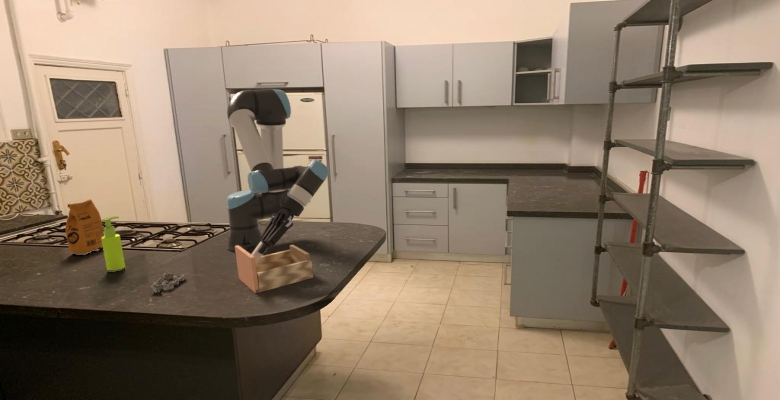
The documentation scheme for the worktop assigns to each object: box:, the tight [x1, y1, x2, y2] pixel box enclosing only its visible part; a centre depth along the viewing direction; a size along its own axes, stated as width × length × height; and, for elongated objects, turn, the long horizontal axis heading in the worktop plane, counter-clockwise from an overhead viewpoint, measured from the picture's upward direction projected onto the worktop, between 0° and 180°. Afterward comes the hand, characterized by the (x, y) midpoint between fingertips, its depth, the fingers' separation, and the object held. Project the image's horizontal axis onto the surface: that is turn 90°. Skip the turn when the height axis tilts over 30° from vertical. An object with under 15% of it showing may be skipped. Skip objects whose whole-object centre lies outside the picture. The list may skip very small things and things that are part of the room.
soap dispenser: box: [101, 216, 126, 271], centre depth 166 cm, size 6×7×20 cm
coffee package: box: [65, 198, 105, 253], centre depth 190 cm, size 10×12×22 cm
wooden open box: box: [255, 244, 314, 293], centre depth 150 cm, size 18×16×9 cm
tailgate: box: [234, 245, 260, 294], centre depth 144 cm, size 1×16×12 cm, turn 35°
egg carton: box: [149, 271, 185, 293], centre depth 148 cm, size 11×8×4 cm
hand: (252, 260), depth 143 cm, fingers closed
